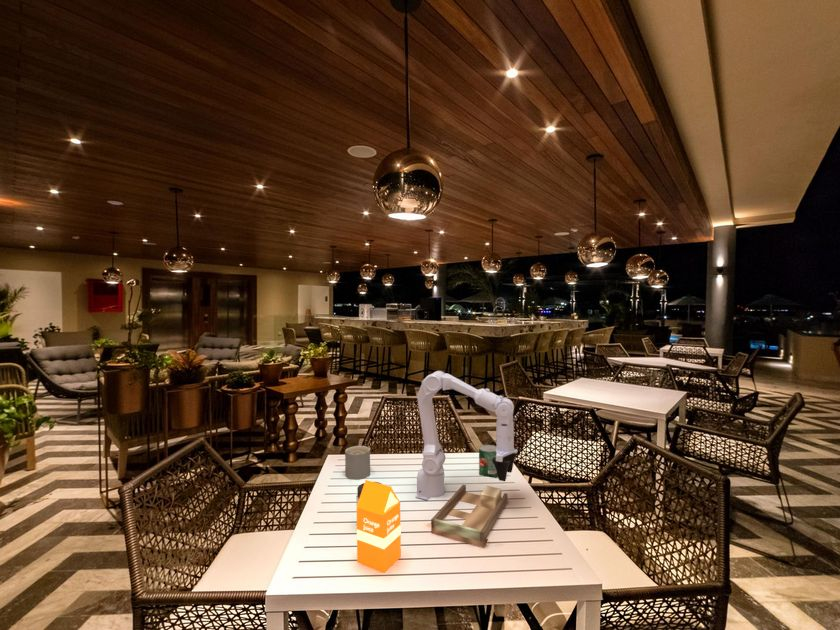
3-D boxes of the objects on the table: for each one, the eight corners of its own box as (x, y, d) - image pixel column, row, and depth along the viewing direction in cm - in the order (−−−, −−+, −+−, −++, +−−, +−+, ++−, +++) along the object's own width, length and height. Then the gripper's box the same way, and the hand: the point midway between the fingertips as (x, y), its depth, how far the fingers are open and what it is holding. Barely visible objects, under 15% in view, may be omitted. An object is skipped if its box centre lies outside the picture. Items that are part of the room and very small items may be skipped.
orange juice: (374, 546, 104) (374, 474, 105) (401, 556, 100) (400, 481, 100) (356, 562, 98) (355, 485, 98) (384, 573, 93) (383, 493, 93)
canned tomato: (475, 474, 152) (474, 447, 152) (488, 469, 156) (488, 443, 157) (489, 481, 145) (489, 452, 145) (503, 475, 150) (502, 448, 150)
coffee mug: (359, 481, 146) (358, 456, 146) (340, 476, 152) (340, 451, 152) (380, 469, 158) (380, 445, 158) (362, 465, 163) (361, 442, 163)
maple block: (480, 506, 123) (480, 494, 123) (487, 497, 129) (487, 485, 129) (495, 510, 121) (495, 497, 121) (501, 500, 127) (501, 488, 127)
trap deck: (431, 533, 111) (431, 519, 111) (463, 495, 134) (463, 484, 134) (483, 547, 103) (483, 533, 103) (507, 505, 126) (507, 493, 126)
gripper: (511, 443, 118) (511, 487, 118) (522, 431, 131) (522, 470, 130) (489, 440, 121) (489, 482, 121) (502, 428, 134) (502, 466, 134)
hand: (505, 476), depth 126 cm, fingers open, 7 cm apart
